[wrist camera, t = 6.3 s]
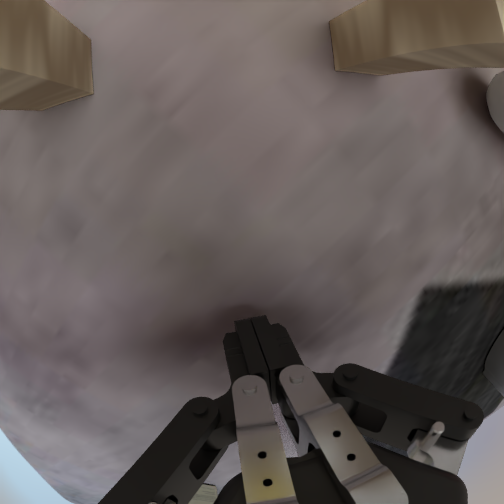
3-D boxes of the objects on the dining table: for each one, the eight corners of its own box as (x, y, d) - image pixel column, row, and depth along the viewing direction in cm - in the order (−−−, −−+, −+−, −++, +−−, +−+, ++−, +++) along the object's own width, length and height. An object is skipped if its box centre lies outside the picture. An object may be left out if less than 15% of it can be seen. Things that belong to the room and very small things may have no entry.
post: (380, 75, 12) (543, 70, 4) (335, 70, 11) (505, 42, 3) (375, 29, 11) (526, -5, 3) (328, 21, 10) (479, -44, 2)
